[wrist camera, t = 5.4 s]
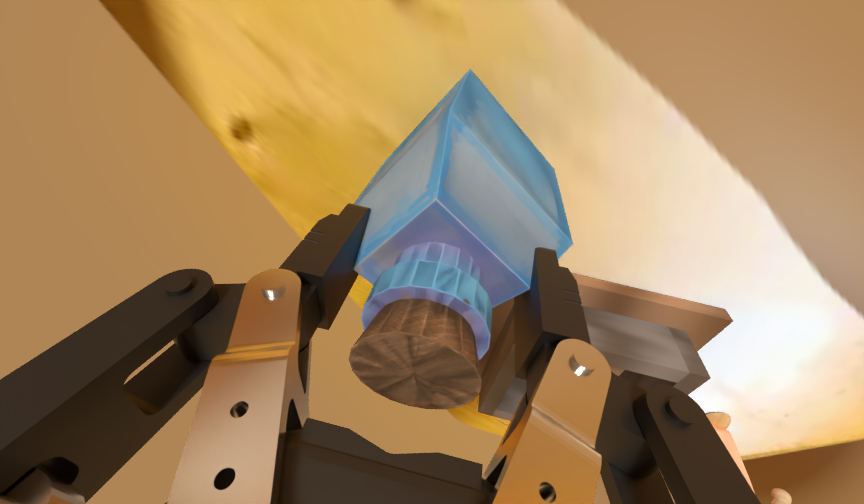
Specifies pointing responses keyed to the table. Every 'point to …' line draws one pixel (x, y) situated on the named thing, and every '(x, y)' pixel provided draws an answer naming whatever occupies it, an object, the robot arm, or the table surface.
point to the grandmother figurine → (720, 424)
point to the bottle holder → (613, 341)
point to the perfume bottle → (450, 247)
